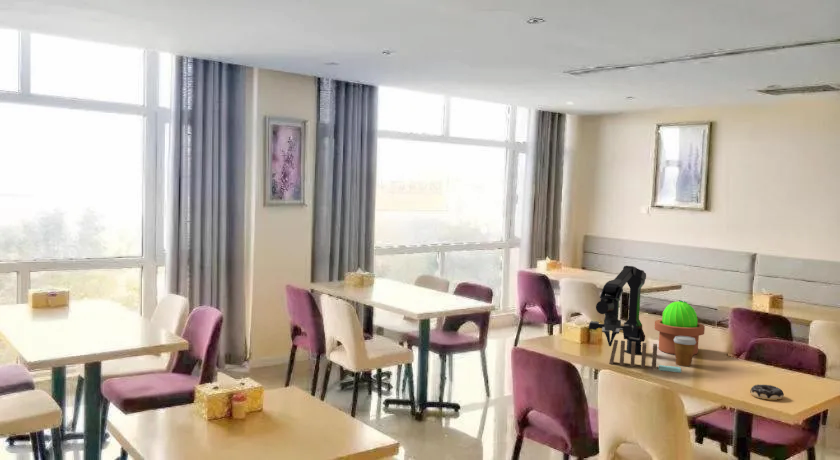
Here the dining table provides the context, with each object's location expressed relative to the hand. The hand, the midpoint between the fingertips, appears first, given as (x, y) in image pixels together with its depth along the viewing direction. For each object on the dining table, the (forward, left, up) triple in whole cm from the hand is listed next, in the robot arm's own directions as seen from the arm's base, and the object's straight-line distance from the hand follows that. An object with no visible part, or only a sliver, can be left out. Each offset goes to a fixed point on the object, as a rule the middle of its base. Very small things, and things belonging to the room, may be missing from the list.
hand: (610, 346), depth 313 cm
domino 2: (+4, +4, -8) cm, 9 cm away
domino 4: (+9, +11, -8) cm, 16 cm away
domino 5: (+12, +14, -8) cm, 20 cm away
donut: (+59, +28, -8) cm, 66 cm away
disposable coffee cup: (+11, +31, -8) cm, 34 cm away
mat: (+16, +19, -7) cm, 26 cm away
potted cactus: (-10, +47, -8) cm, 49 cm away
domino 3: (+6, +7, -8) cm, 12 cm away
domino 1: (+1, +1, -7) cm, 7 cm away
